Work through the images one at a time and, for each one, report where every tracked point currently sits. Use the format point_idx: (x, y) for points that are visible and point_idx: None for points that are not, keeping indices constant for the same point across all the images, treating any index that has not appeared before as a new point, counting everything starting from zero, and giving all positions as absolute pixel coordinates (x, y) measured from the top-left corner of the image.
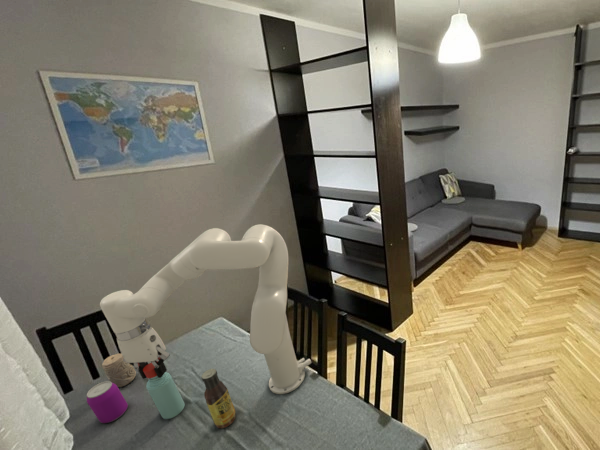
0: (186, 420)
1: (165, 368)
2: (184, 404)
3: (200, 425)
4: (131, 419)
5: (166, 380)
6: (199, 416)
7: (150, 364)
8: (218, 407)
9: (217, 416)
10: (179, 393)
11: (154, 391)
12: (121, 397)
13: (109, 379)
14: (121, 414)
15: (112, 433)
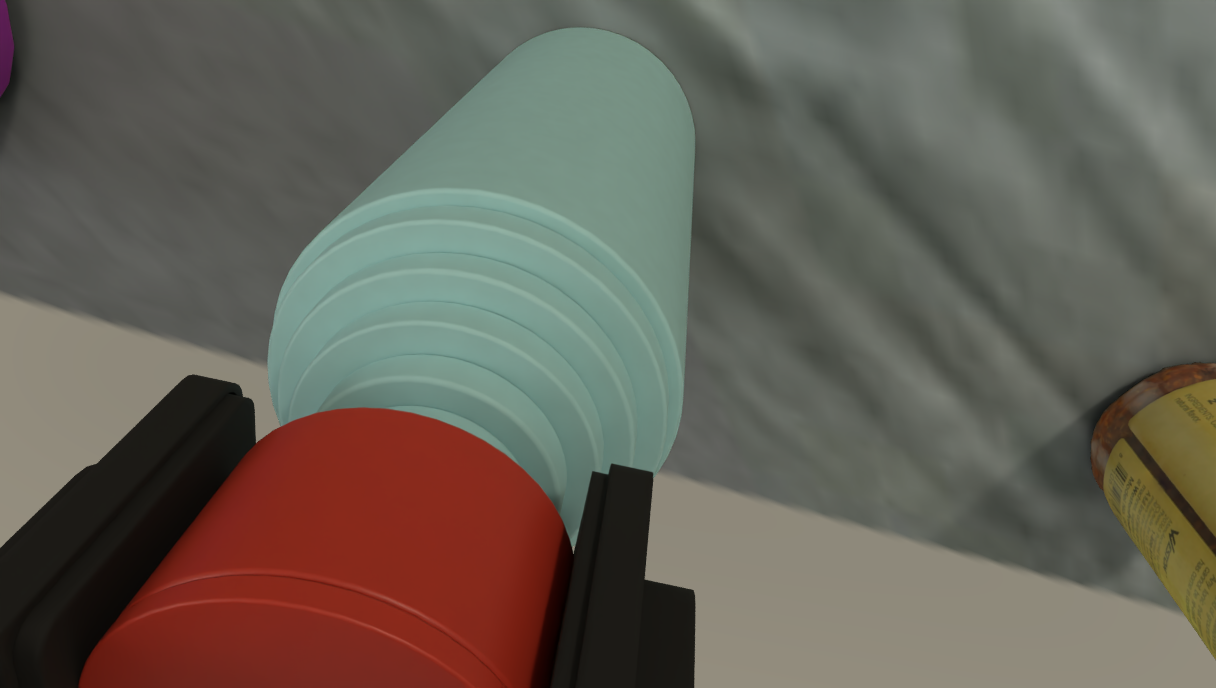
0: (778, 315)
1: (691, 625)
2: (690, 112)
3: (932, 406)
4: (170, 132)
5: (654, 467)
6: (902, 309)
7: (209, 684)
8: None
9: None
10: (681, 151)
11: None
12: None
13: None
14: (10, 66)
15: (105, 246)
